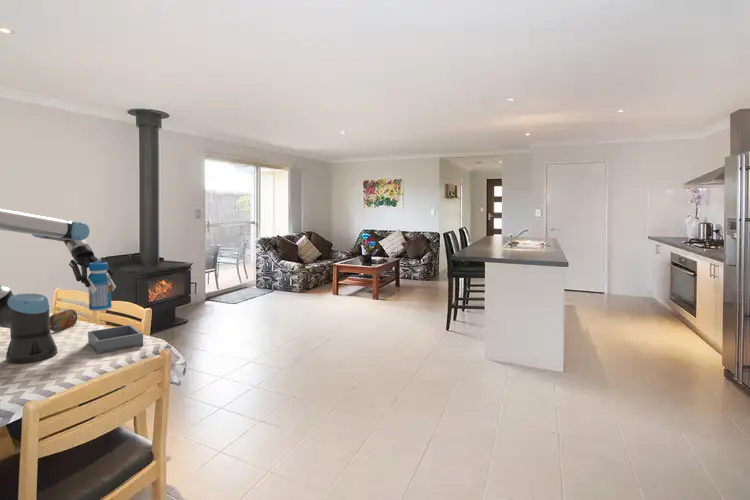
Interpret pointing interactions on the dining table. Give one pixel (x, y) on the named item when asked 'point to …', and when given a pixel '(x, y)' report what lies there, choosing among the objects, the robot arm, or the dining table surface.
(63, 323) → the tin
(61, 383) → the dining table surface
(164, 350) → the dining table surface
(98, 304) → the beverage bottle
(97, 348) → the tray
